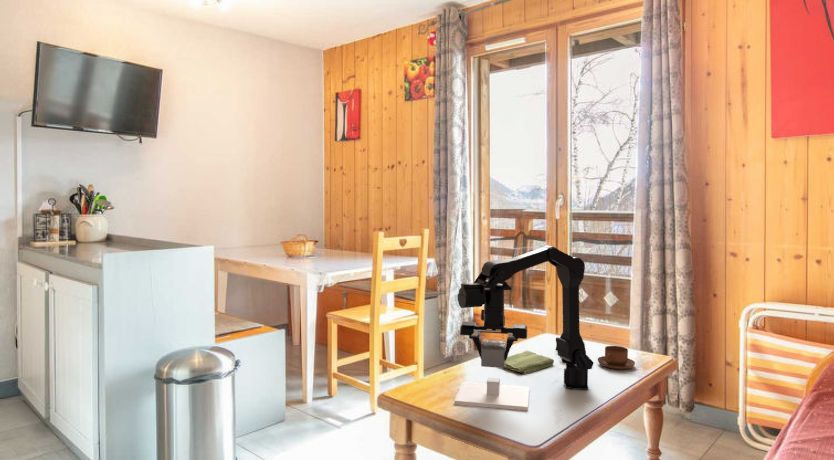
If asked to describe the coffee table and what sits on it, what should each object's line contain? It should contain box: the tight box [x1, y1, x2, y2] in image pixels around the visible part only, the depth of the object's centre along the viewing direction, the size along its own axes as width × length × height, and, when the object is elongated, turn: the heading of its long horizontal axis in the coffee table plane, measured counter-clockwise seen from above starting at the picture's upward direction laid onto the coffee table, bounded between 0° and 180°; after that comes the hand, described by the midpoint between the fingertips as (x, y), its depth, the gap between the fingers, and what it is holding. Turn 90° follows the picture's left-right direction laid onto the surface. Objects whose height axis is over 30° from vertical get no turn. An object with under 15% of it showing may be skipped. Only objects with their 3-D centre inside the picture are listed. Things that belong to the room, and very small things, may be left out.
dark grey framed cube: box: [480, 339, 507, 369], centre depth 155 cm, size 6×6×6 cm
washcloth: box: [503, 350, 555, 375], centre depth 185 cm, size 13×18×3 cm
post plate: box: [454, 377, 530, 411], centre depth 156 cm, size 20×16×5 cm
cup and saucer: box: [597, 345, 636, 370], centre depth 184 cm, size 12×12×6 cm
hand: (493, 359), depth 155 cm, fingers closed on dark grey framed cube, 6 cm apart
